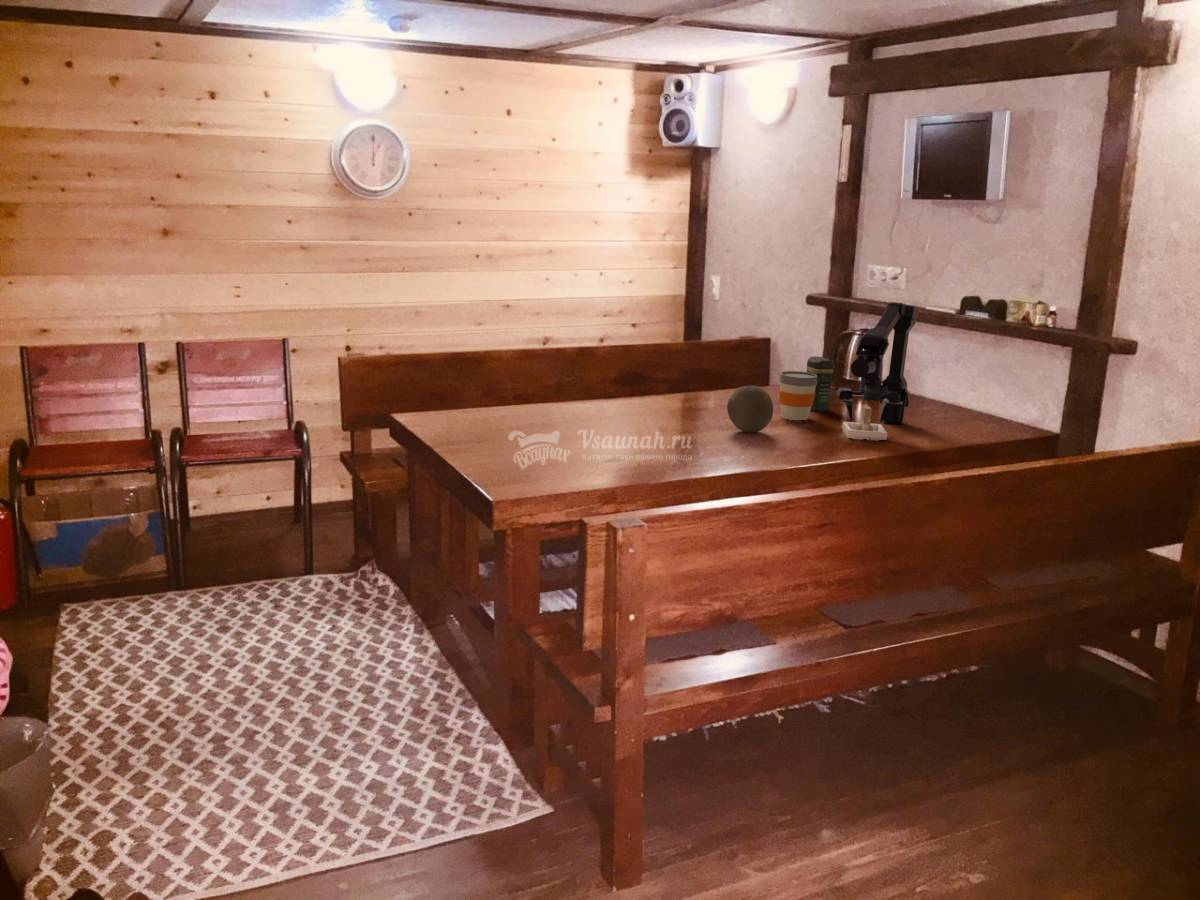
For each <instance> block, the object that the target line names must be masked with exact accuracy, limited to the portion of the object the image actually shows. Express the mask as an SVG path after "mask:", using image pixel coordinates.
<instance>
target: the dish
mask: <svg viewBox="0 0 1200 900" xmlns="http://www.w3.org/2000/svg"><path fill="white" fill-rule="evenodd" d="M860 427H861V422H853V421H843V422H842V427H841V430H842V432H843V433H845V434H844V435H845V436H846V437H845V438H847V439H848V438H852V439H851V440H863V439H867V440H868V441H879V440H887V438H888V432H887V430H886V429H885V428H884V426H883V425H882V424H881V423H870V429H869V431H860ZM869 439H870V440H869ZM867 440H866V441H867ZM887 441H888V440H887Z"/></svg>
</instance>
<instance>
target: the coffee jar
mask: <svg viewBox="0 0 1200 900" xmlns="http://www.w3.org/2000/svg"><path fill="white" fill-rule="evenodd" d="M806 372H808V373H813V374H815V375H817V385H816V387H815V397H814V401H813V405H812V406H811V409H810V411H818V412H826V411H828V410H830V402H831V387H832V386H831V385H832V377H833V372H834V361H832V360H831V359H829V358H826V357H823V356H810V357H808V358H807V362H806Z"/></svg>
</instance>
